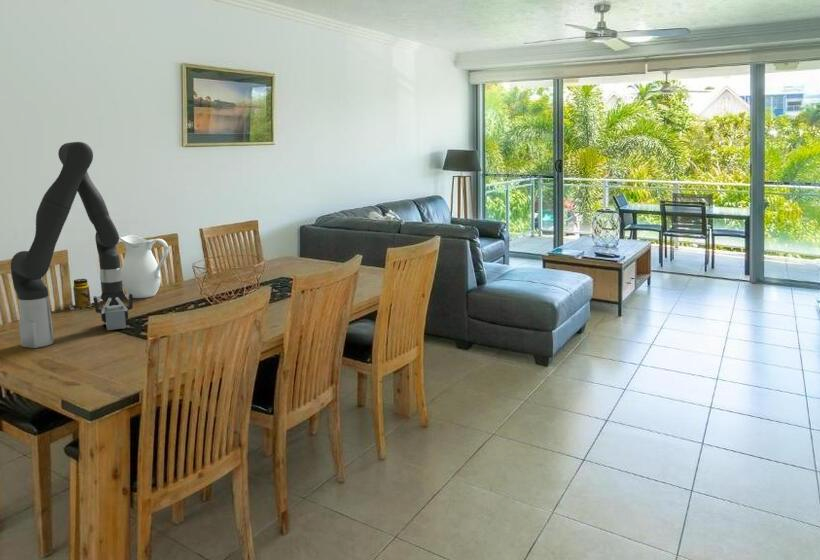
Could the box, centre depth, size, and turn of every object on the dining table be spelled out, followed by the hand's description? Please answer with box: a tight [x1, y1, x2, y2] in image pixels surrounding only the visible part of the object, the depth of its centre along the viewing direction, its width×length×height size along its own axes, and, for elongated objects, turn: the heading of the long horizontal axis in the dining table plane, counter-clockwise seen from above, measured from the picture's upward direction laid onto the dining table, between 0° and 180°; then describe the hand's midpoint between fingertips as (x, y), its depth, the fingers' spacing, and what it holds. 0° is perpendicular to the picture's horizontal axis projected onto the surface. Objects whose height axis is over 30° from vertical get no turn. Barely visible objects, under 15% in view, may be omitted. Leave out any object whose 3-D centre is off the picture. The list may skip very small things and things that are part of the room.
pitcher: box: [119, 234, 170, 299], centre depth 287 cm, size 24×17×28 cm
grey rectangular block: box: [105, 304, 127, 331], centre depth 242 cm, size 11×7×7 cm, turn 29°
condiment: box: [68, 278, 93, 311], centre depth 269 cm, size 7×8×12 cm
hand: (115, 321), depth 242 cm, fingers closed on grey rectangular block, 6 cm apart
